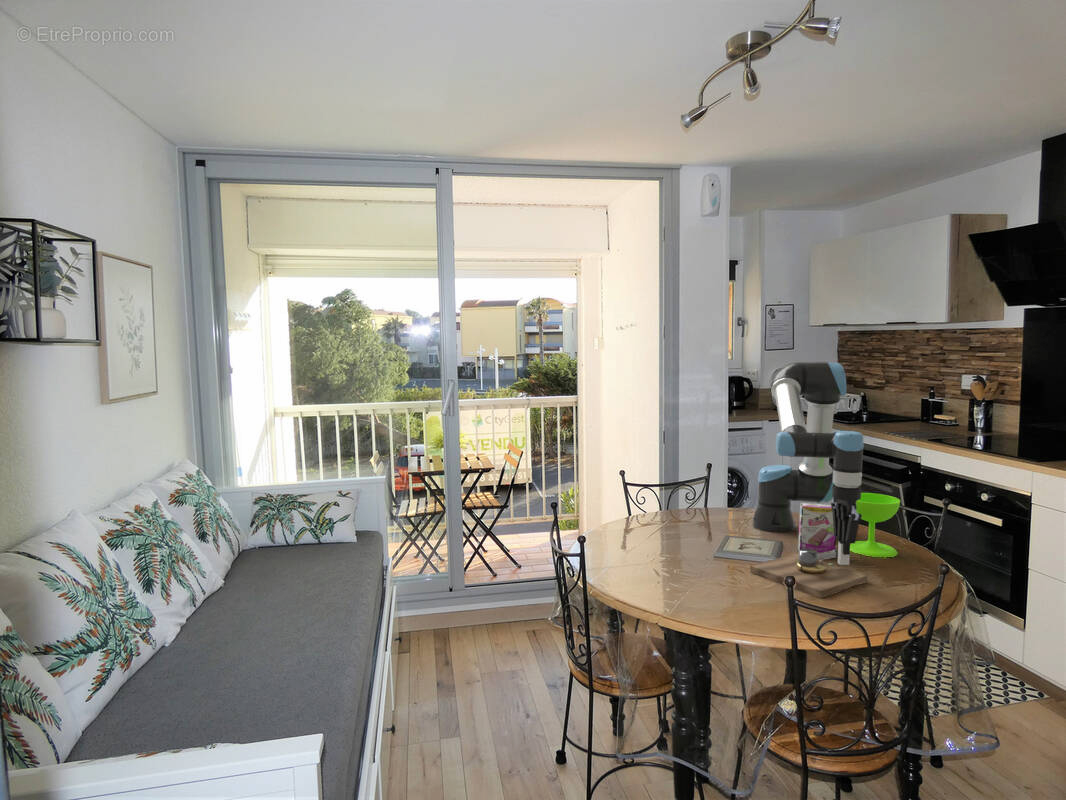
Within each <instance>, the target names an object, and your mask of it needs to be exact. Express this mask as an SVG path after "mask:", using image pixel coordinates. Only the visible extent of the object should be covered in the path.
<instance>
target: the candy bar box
mask: <svg viewBox="0 0 1066 800" xmlns="http://www.w3.org/2000/svg"><path fill="white" fill-rule="evenodd" d="M798 523H799V525H798V542H797V543H798V544H797V547H798V548H797V549H798V551H799V549H803V548H807V549H813V550H816V551H817V553H822V552H827V551H832V550H834V549H837V548H836V547H837V546H836V545H837V543H836V542H837V537H835V536H834V526H833V512H832V508H831V504H825V503H821V504H820V503H812V502H809V503H807V502H800V503H799V522H798Z"/></svg>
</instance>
